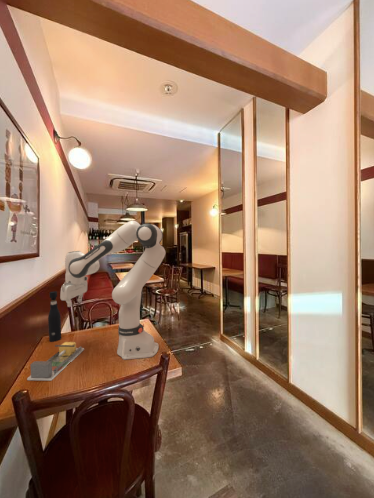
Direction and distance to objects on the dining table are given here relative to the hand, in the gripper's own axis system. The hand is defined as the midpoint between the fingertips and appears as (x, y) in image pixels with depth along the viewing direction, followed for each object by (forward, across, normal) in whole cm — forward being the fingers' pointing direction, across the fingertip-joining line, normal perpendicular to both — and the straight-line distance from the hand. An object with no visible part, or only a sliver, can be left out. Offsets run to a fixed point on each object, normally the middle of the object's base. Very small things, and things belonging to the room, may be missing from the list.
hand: (74, 303), depth 118 cm
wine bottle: (+26, +10, +19) cm, 34 cm away
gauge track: (+26, -15, 0) cm, 30 cm away
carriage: (+24, -10, 0) cm, 26 cm away
